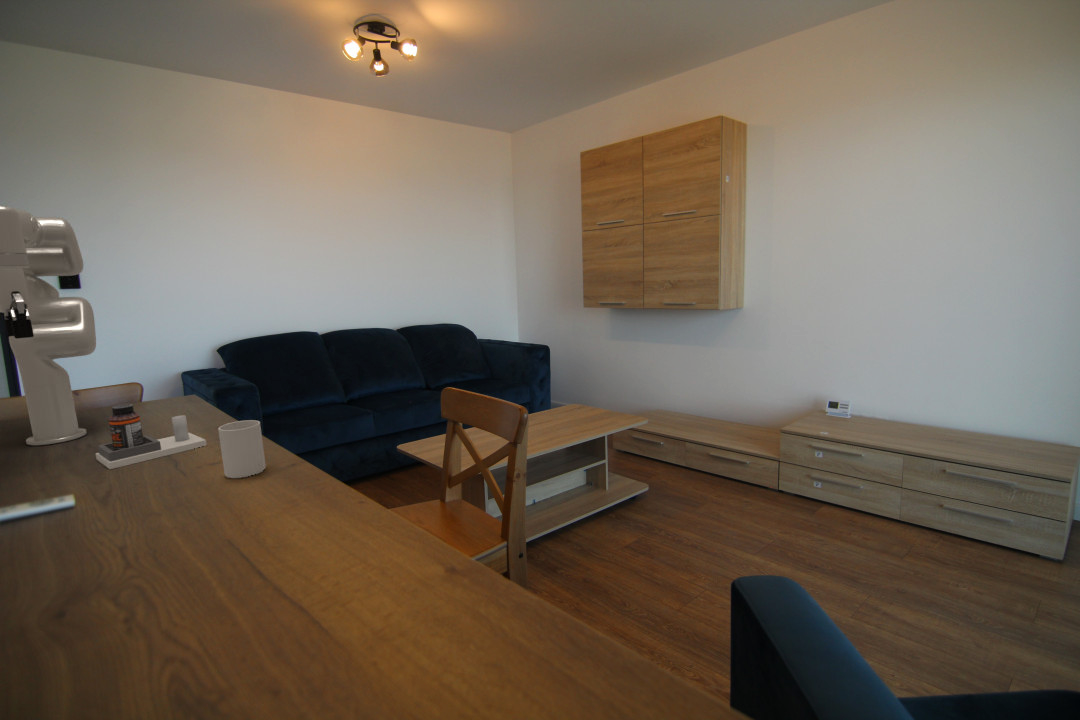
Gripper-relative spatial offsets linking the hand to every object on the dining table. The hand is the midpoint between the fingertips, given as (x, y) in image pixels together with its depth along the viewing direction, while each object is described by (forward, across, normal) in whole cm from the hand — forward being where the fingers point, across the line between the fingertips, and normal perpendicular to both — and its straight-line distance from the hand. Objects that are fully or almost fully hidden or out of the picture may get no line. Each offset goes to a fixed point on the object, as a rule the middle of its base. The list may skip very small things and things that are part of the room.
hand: (20, 336), depth 128 cm
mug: (+30, +50, +25) cm, 64 cm away
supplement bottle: (+29, +17, +13) cm, 36 cm away
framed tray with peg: (+30, +17, +18) cm, 39 cm away
